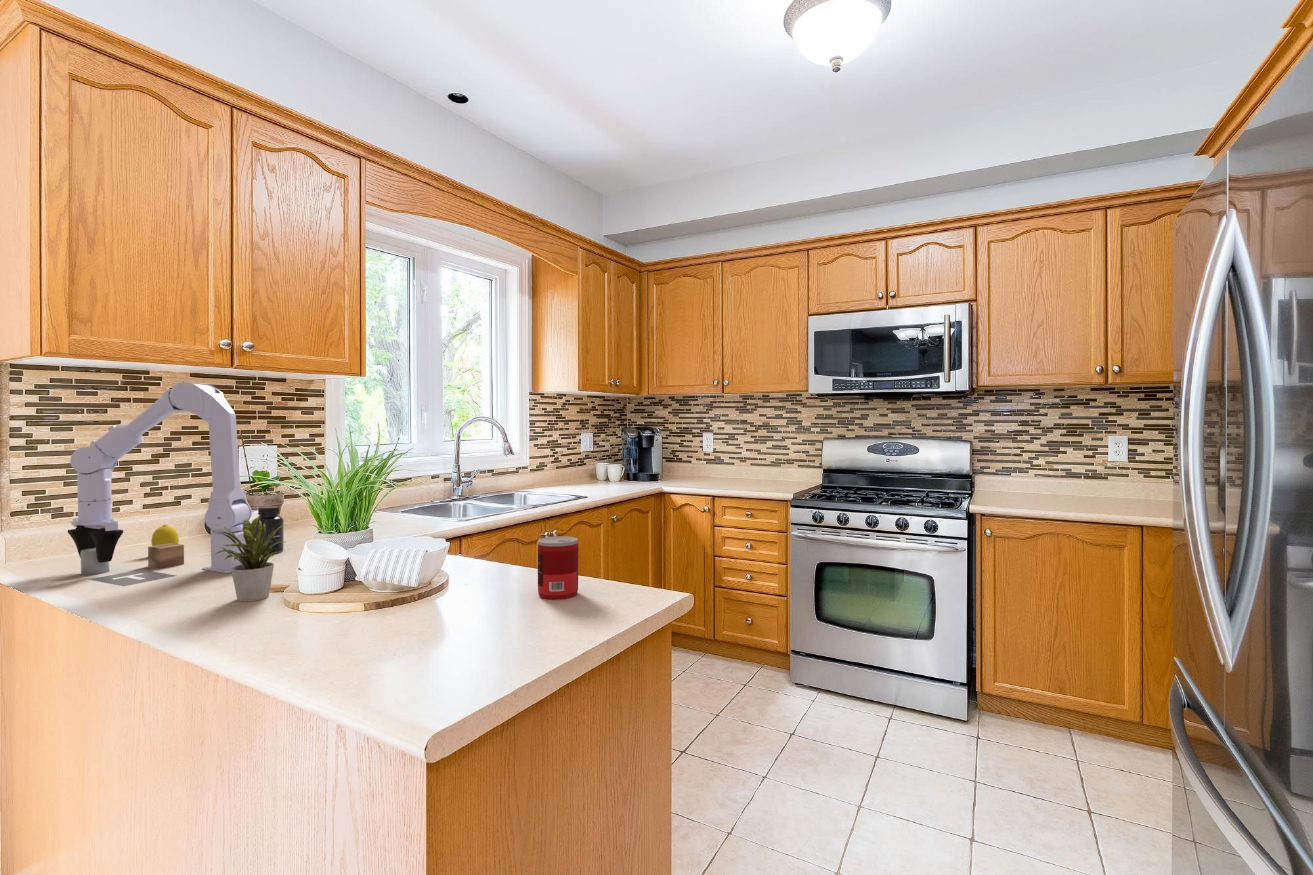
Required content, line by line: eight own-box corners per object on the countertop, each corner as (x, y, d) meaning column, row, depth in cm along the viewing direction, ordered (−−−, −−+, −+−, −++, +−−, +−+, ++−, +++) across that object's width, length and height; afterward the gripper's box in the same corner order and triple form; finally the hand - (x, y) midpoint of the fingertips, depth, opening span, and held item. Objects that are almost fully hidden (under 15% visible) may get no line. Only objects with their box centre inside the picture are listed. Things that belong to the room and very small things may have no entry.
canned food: (586, 594, 125) (586, 539, 124) (553, 602, 119) (553, 544, 119) (562, 587, 130) (561, 534, 130) (530, 595, 124) (529, 539, 124)
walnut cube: (184, 565, 151) (183, 544, 150) (160, 569, 146) (160, 548, 146) (172, 563, 153) (171, 543, 153) (148, 567, 148) (148, 546, 148)
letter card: (177, 576, 139) (177, 575, 139) (123, 587, 130) (123, 586, 130) (141, 570, 145) (141, 569, 145) (88, 580, 136) (88, 579, 136)
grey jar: (113, 572, 143) (113, 548, 143) (87, 577, 139) (86, 552, 138) (103, 570, 145) (102, 546, 145) (76, 574, 141) (76, 550, 141)
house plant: (196, 597, 122) (195, 513, 122) (276, 584, 132) (275, 507, 132) (214, 612, 112) (213, 521, 112) (299, 596, 123) (298, 513, 122)
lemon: (184, 553, 164) (184, 523, 164) (165, 558, 159) (165, 526, 158) (165, 553, 165) (164, 522, 164) (145, 557, 159) (145, 526, 159)
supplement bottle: (273, 554, 162) (273, 508, 162) (247, 554, 163) (247, 508, 162) (289, 549, 169) (289, 505, 169) (264, 549, 169) (263, 505, 169)
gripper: (55, 500, 141) (56, 560, 141) (89, 504, 135) (91, 566, 135) (94, 497, 147) (95, 554, 148) (128, 500, 141) (129, 560, 142)
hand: (95, 560), depth 142 cm, fingers open, 7 cm apart
